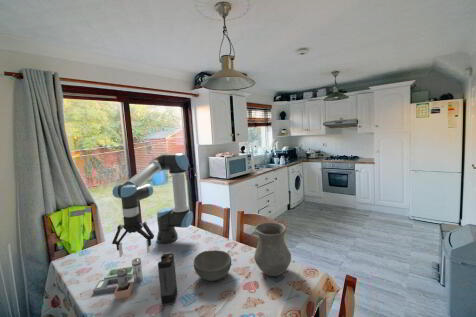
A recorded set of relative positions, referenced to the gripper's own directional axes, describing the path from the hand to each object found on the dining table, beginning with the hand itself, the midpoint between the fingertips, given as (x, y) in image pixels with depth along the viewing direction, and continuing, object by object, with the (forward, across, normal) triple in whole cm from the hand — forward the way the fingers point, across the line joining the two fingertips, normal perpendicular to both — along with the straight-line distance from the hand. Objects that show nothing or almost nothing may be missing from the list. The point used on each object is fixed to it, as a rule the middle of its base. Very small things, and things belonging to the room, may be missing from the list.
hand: (135, 253), depth 118 cm
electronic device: (+16, -18, +18) cm, 30 cm away
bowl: (+16, -40, +7) cm, 44 cm away
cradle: (+16, +14, +1) cm, 21 cm away
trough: (+16, +11, -8) cm, 21 cm away
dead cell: (+15, +4, +9) cm, 18 cm away
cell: (+16, 0, 0) cm, 16 cm away
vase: (+16, -72, +13) cm, 75 cm away
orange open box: (+16, +4, +9) cm, 19 cm away
